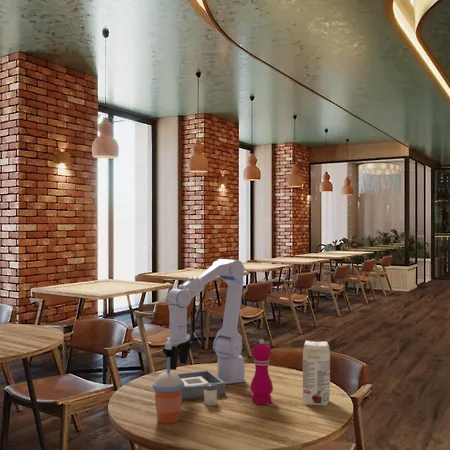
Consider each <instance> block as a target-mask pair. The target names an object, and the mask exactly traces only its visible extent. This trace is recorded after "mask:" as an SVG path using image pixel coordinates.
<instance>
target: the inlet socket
mask: <svg viewBox="0 0 450 450" xmlns="http://www.w3.org/2000/svg"><path fill="white" fill-rule="evenodd" d="M181 380H182V381H183V382H184V387H186V386H195V385H203V384H206V383H208V382H207V381H206V380H205V379H204V378H202V377H201V376H200V377H191V378H183V379H181Z"/></svg>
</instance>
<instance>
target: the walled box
mask: <svg viewBox="0 0 450 450" xmlns="http://www.w3.org/2000/svg"><path fill="white" fill-rule="evenodd" d="M176 374H177V375H179V377H180V378H181V379H183V378H191V377H200V376H201V377H202V378H204V379H205V380H206V381H207V382H208V383H215V384H217V397H218V396H220V397H221V396H226V384H225V382H224V381H222V380H221V379H220V378H219V377H218V375H216V374H215V373H213V372H212V371H210V369H207V370H205V369H204V370H195V371H188V372H178V373H176ZM181 393H182V399H181V402H182V401H187V400H188V401H189V400H195V399H204V384H203V385H195V386H186V387H184V388H183V389H182V392H181Z"/></svg>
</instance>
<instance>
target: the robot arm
mask: <svg viewBox="0 0 450 450" xmlns="http://www.w3.org/2000/svg"><path fill="white" fill-rule="evenodd" d="M245 269H246V268H245V266H244V264H243V263H242V261H241V260H240V259H225V258H224V259H223V258H218V259H217V260H215V261H213V262H212V264H211V266H210V267H208V268H207V269H206V270H205V271H203V272H202V273H201V274H200V275H199V276H198V277H197V276H190V277H188V278H187V279H188V280H186V281H185V282H184V283H182V284H179V285H178V287H177V288H171V289H170V290H169V291H168V293H167V294H166V297H165V302H166V303H167V305H168V306H167V307H168V310H169V336H168V337H166V341H165V343H164V347H162V352H163V353H164V355H165V358H166V359H167V358H168V357H170V371H171V370H173V371H177V367H178V359H179V364H181V365H182V364H183V365H186V364H187V362H188V358H189V354H190V350H191V349H192V346H193V345H194V342H193V341H191V334H190V333H189V334H187V333H188V327H187V326H188V314H187V313H188V309H187V308H188V306H189V305H190V304H191V302H192V299H193V298H195V297H196V296H197V295H199V294H200V293H201V292H202V291H203V290H204V287H205V285H208V284H209V283H210V282H211V281H213V280H215V279H216V278H221V279H222V280H224V282H225V283H226V284H227V292H226V297H225V305H224V311H223V320H222V327H221V328H220V329H219V330H218V331H217V332H216V336H215V338H214V340H213V343H212V345H213V346H212V348H213V351H214V352H215V354H216V356H217V377H219V378H220V379H221V380H222V381H224V382H225V385H228V384H236V383H237V384H238V383H245V382H246V380H245V376H246V375H245V373H246V371H245V369H246V368H245V367H246V365H245V359H244V357H243V355H241V353H242V350H243V342H242V339H243V336H242V335H241V334H240V333H239V331H238V324H239V318H240V317H239V316H240V310H241V303H242V297H243V296H242V295H243V289H244V277H245V276H244V275H245Z"/></svg>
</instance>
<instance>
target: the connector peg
mask: <svg viewBox="0 0 450 450" xmlns="http://www.w3.org/2000/svg"><path fill="white" fill-rule="evenodd" d="M217 399H218V396H217V384H215V383H206V384H204V398H203V405H204V406H206V407H207V406H208V407H213V406H217V405H218V403H217V402H218V400H217Z"/></svg>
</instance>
